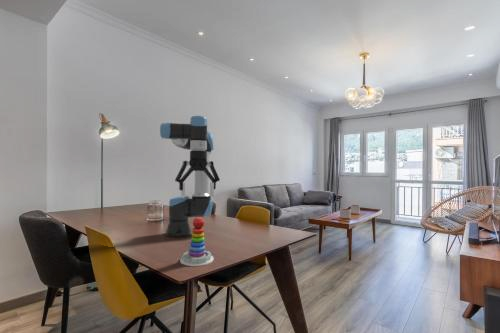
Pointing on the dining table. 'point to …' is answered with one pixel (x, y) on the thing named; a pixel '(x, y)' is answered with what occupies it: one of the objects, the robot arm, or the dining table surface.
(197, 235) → the stacking toy
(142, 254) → the dining table surface
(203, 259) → the collar base
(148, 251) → the dining table surface
